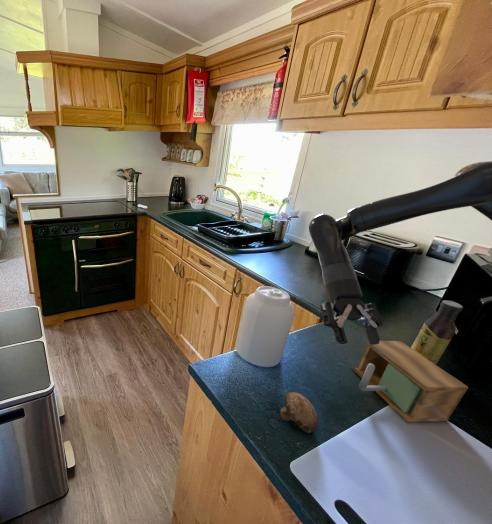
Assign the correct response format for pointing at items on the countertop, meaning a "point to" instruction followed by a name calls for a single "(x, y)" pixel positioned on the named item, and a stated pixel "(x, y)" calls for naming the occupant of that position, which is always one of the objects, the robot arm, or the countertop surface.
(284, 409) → the mushroom
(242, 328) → the can
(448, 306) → the sauce bottle
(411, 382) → the door
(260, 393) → the countertop surface
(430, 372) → the cupboard
